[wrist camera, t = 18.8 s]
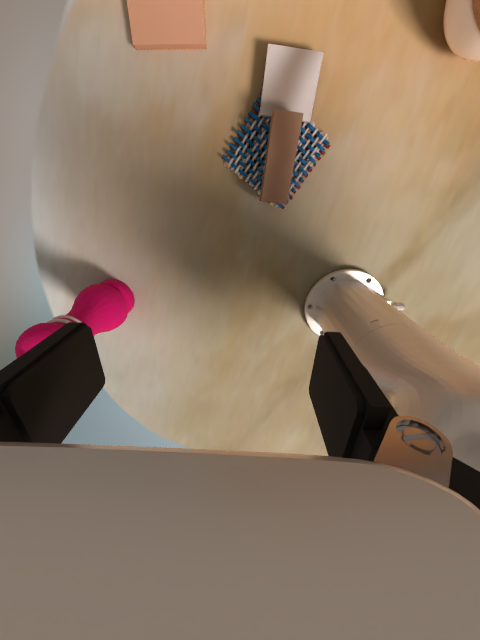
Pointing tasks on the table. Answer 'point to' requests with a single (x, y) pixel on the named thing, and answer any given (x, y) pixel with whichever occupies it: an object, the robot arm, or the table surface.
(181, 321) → the table surface
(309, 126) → the woven mat
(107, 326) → the pepper mill
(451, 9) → the lidded jar
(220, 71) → the table surface
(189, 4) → the tile
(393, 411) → the robot arm
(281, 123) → the turner
